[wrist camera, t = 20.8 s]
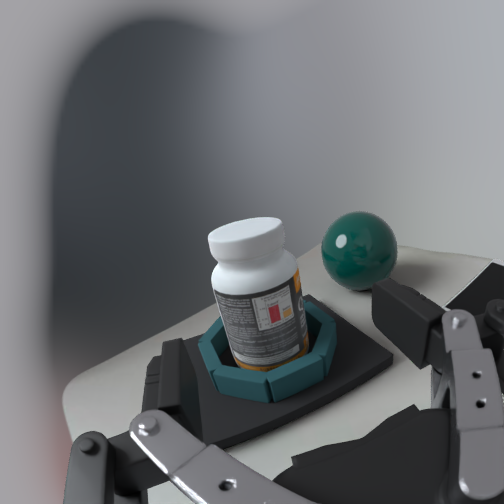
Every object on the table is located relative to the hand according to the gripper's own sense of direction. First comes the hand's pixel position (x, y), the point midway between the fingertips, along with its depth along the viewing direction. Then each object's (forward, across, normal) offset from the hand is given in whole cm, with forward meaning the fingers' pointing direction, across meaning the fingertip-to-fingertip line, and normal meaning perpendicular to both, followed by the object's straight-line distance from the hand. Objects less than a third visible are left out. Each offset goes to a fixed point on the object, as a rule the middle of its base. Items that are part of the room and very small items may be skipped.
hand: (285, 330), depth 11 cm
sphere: (+15, -12, +9) cm, 21 cm away
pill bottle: (+8, 0, +8) cm, 11 cm away
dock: (+8, 0, +9) cm, 12 cm away
